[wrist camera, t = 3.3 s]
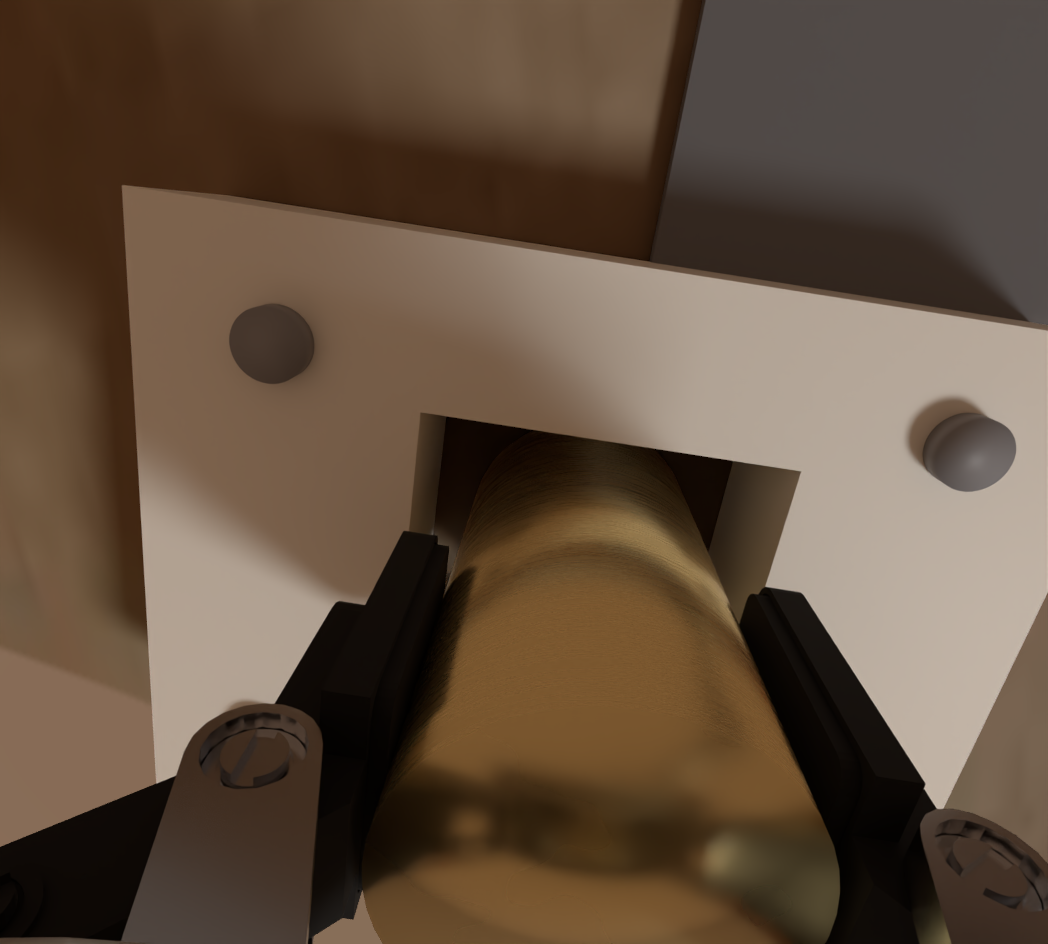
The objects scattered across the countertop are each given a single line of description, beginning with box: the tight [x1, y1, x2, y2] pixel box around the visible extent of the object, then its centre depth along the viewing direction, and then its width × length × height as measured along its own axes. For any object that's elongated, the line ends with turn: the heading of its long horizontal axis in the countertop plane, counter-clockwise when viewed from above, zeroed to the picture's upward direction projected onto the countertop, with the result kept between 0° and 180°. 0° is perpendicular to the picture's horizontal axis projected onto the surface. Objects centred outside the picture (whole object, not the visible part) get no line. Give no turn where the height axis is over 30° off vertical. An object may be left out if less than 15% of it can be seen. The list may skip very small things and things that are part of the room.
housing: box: [122, 185, 1048, 809], centre depth 14 cm, size 16×12×4 cm
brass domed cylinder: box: [362, 430, 840, 944], centre depth 11 cm, size 5×5×9 cm
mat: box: [649, 0, 1048, 325], centre depth 12 cm, size 9×9×1 cm
